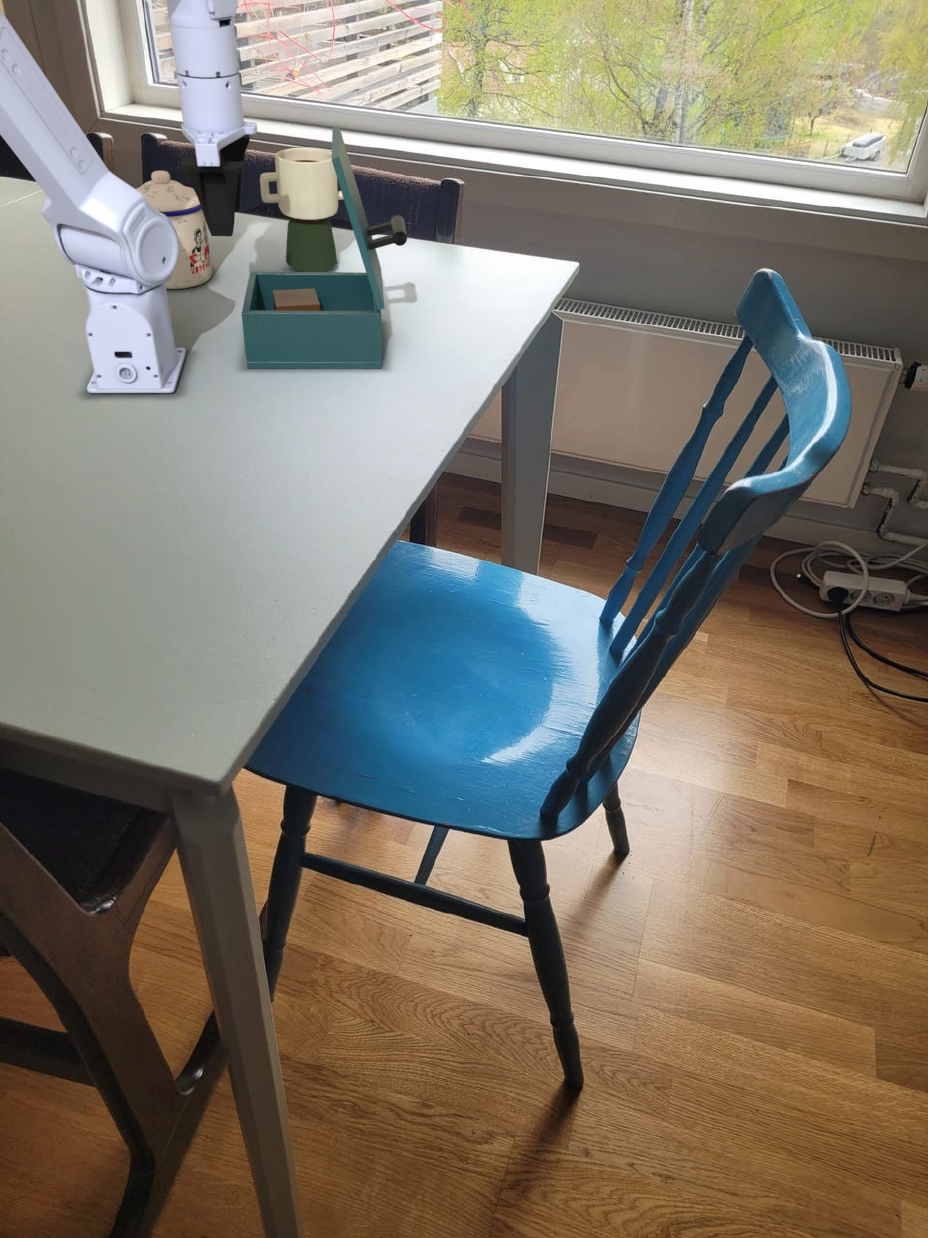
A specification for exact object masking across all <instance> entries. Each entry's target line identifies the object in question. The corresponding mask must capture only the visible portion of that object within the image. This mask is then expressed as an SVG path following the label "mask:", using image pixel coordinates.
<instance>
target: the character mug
mask: <svg viewBox="0 0 928 1238" xmlns="http://www.w3.org/2000/svg"><path fill="white" fill-rule="evenodd" d="M274 165H275V172H274V171H273V172H263V173H261V174H260V177H259V184H260V186H259V187H260V197H261V200H262V202H263V203H266V204H277V205H278V206H277V207H278V208H279V210H280V212H281V213H282V214H283V215H284V216H287V217H289V220H288V223H287V230H286V231H287V232H286V247H285V249H286V250H285V264H286V265H287V266H289V268H292V269H295V270H297V271H299V272H327V271H328V270H331V269H333V268H334V267H335V266H336V265H337V263H338V259H337V258H338V257H337V251H336V243H335V237H334V233H333V232H334V231H333V227H332V226H333V225H332V223H331V221H330V219H329V217H332V216H334V215H335V214H337V212H338V209H339V200H340V201H341V200H344V198H343V195H342V192H341V190H338V189H339V187H338V179H337V175H336V172H335V169H334V166H333V162H332V150H331V151H330V150H327V149H322V148H318V147H317V148H316V147H293V148H292V147H291V148H285V149H282V150H279V151H277V152H276V153H275V155H274ZM270 182H276V190H277V193H270V184H269V183H270Z"/></svg>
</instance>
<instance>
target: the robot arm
mask: <svg viewBox="0 0 928 1238" xmlns="http://www.w3.org/2000/svg"><path fill="white" fill-rule="evenodd" d="M165 2H166V9H167V16H168V23H169V30H170V38H171V45H172V52H173V61H174V68H175V74H176V82H177V88H178V95H179V102H180V103H179V104H180V110H181V111H180V112H181V118H182V123H181V125H180V126H181V132H182V135H183V136H184V137H185V138H186V140H188V141H189V142H190V144H191V145H192V146H193V147H194V149H195V150H194V151H195V156H196V157H182V159H181V161H180V169H181V171H182V173H183V175H184V176H185V178H186V179H187V181H188V182H189V183H190V185H191V188H193V189H194V191H195V193H196V195H197V197H198V200H199V202H200V205H201V208H202V211H203V214H204V217H205V220H206V227H207V230H208V231H209V233H210V235H211V237H233V234H234V229H235V221H236V220H235V218H236V212H239V211H240V206H241V200H242V199H241V198H242V181H243V178H242V177H243V168H244V161H245V155H246V151H247V149H248V146H249V144H250V142H251V141H250V140H251V135H256V134H257V132H258V125H257V123H256V122H255V121H246V120H244V119H245V118H244V110H243V108H244V107H243V99H242V90H241V88H242V87H241V79H240V69H239V59H238V50H237V41H236V30H235V21H234V17H235V16H236V15H237V10H238V8H239V4H238V3H239V1H238V0H165ZM13 27H14V26H13V25H12V24H11V23H10V21H9V20H8V18H7V17H6V14H4V12H3V11H2V10H1V8H0V136H1V137H2V139H3V140H4V142H6V144H7V145H8V147H10V149H11V150H12V152H13V153H14V154H15V156H16V157H17V158H18V160H19V161H20V162H21V163H22V164H23V166H24V167H25V169H26V170H27V171H28V172H29V174H30V175H31V176H32V178H33V179H34V181H35V182H36V183H37V184H38V186H40V188H41V189H42V191H43V192H44V194H45V195H46V197H45V200H44V203H43V205H42V208H41V215H42V217H43V218H44V219H45V220H46V222H47V224H48V225H49V227H50V228H51V231H52V234H53V236H54V240H55V245H56V247H57V249H58V251H59V253H60V254H61V256H62V257H63V259H64V260H66V261H67V262H68V263H69V264H71V265H73V266H74V269H75V275H76V278H78V279H80V280H82V282H83V287H84V292H85V298H86V301H87V307H88V311H89V312H88V316H87V319H86V322H85V335H86V342H87V345H88V350H89V355H90V359H91V365H92V370H93V373H92V376H91V377H90V379H89V382H88V384H87V385H86V391H87V392H88V393H89V394H172V393H174V392H175V391H176V388H177V384H178V383H179V378H180V375H181V372H182V368H183V364H184V362H185V359H186V354H187V348H185V347H176V343H175V336H174V330H173V325H172V316H171V311H170V304H169V297H168V291H167V290H168V289H166V284H165V282H168V281H169V280H171V279H170V275H171V274H172V272H173V270H174V269H175V266H176V263H177V260H178V254H179V241H178V235H177V232H176V229H175V227H174V225H173V223H172V222H171V220H170V219H169V218H168V217H167V216H166V215H164V214H163V213H160V212H158V211H156V210H155V209H154V208H153V207H151V205H150V204H149V203H148V201H147V200H146V198H145V197H144V195H142V194H141V193H140V192H139V191H137V190H136V188H135V187H133V186H131V185H130V184H129V183H127V182H125V181H124V180H123V179H121V178H120V177H118V176H117V175H115V174H114V173H113V172H112V171H110V170H109V168H108V167H107V165H106V163H104V161H103V160H102V158H101V156H100V155H99V153H98V152H97V151H96V149H95V148H94V146H93V144H92V143H91V142H90V140H89V139H88V137H87V136H86V133H84V132H83V130H82V128H81V127H80V125H79V124H78V122H77V121H76V119H75V118H74V117H73V114H72V113H71V112H70V111H69V109H68V108H67V106H66V105H65V103H64V102H63V100H62V99H61V97H60V96H59V94H58V93H57V91H56V90H55V88H54V87H53V85H52V83H50V81H49V79H48V78H47V76H46V75H45V73H44V72H43V70H42V69H41V67H40V66H39V64H38V63H37V61H36V60H35V58H34V57H33V56H32V54H31V53H30V51H29V50H28V48H27V47H26V45H25V44H24V42H23V40H22V39H21V38H20V36H19V34H18V33H17V31H16V30H15V29H14V28H13Z"/></svg>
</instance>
